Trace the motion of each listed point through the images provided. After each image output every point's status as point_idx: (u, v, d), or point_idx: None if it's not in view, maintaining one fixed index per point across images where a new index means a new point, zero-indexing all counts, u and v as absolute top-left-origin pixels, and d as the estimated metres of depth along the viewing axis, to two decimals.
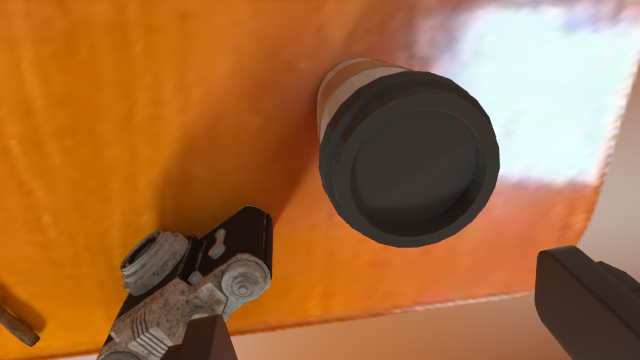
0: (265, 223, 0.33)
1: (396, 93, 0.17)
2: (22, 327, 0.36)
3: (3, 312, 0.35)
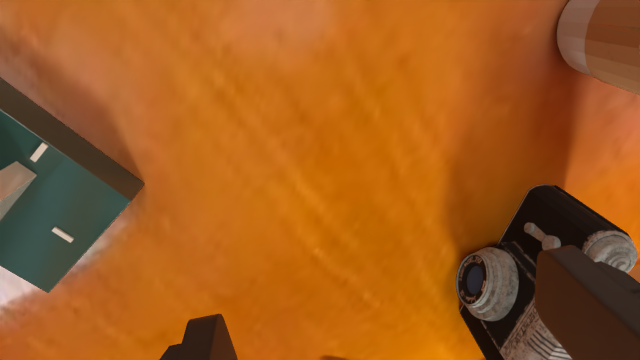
0: (565, 195, 0.31)
1: None
2: None
3: None
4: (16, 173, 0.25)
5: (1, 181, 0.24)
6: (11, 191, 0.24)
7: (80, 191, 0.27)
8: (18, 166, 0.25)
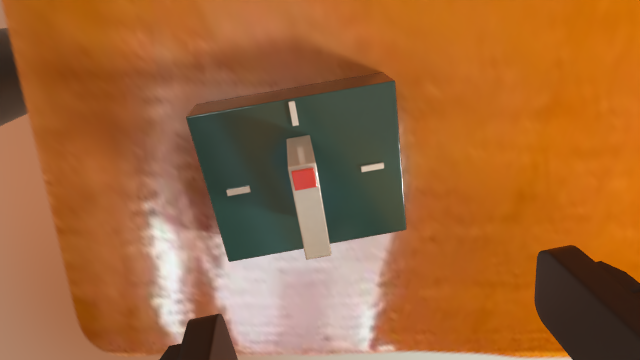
0: None
1: None
2: None
3: None
4: (297, 142, 0.23)
5: (297, 150, 0.22)
6: (311, 149, 0.22)
7: (351, 115, 0.24)
8: (292, 139, 0.24)
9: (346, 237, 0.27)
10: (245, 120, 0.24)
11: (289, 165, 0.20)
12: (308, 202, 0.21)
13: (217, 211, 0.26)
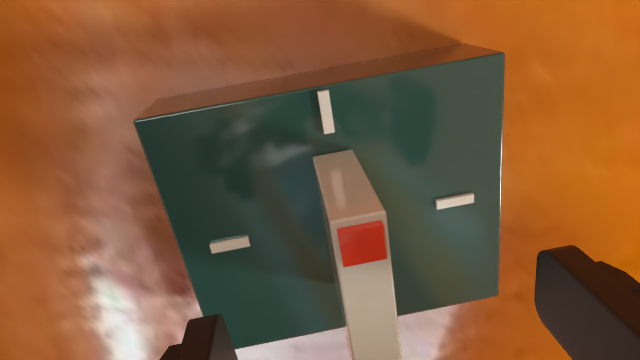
0: None
1: None
2: None
3: None
4: (335, 163, 0.13)
5: (339, 181, 0.12)
6: (366, 180, 0.12)
7: (424, 114, 0.14)
8: (323, 158, 0.14)
9: (405, 310, 0.17)
10: (241, 125, 0.13)
11: (331, 216, 0.10)
12: (368, 285, 0.11)
13: (195, 278, 0.15)
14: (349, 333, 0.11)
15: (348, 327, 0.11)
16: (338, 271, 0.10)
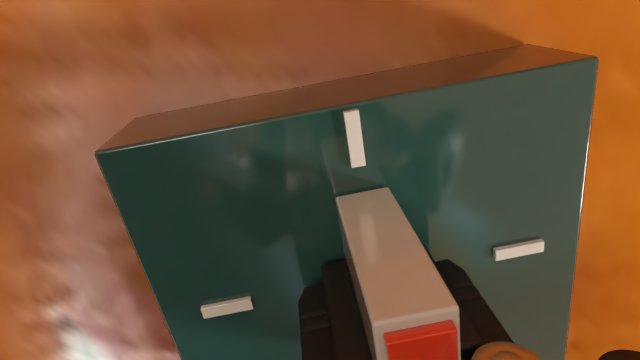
0: None
1: None
2: None
3: None
4: (368, 210, 0.09)
5: (377, 242, 0.08)
6: (416, 241, 0.08)
7: (486, 140, 0.10)
8: (350, 199, 0.10)
9: None
10: (240, 157, 0.10)
11: (374, 312, 0.07)
12: None
13: (184, 346, 0.12)
14: None
15: None
16: None
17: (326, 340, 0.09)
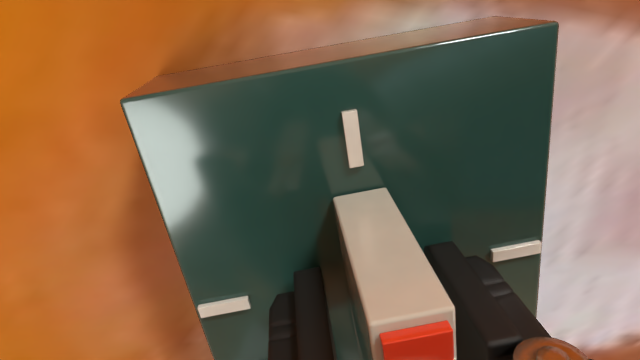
0: None
1: None
2: None
3: None
4: (365, 210, 0.09)
5: (374, 242, 0.08)
6: (413, 241, 0.08)
7: (219, 197, 0.10)
8: (348, 199, 0.10)
9: (537, 183, 0.11)
10: None
11: (370, 312, 0.07)
12: None
13: None
14: None
15: None
16: None
17: (293, 349, 0.09)
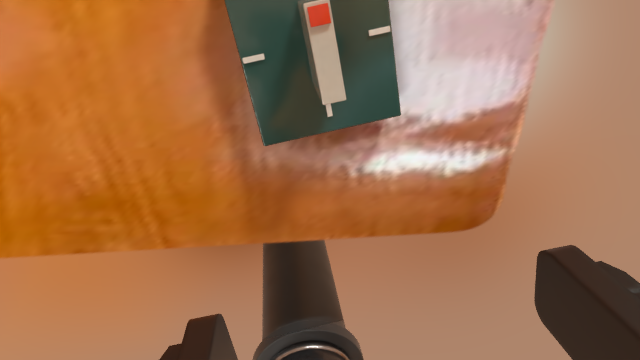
0: None
1: None
2: None
3: None
4: None
5: (309, 0, 0.23)
6: None
7: (251, 2, 0.25)
8: (303, 0, 0.25)
9: None
10: (263, 99, 0.28)
11: (304, 3, 0.22)
12: (324, 41, 0.22)
13: (348, 124, 0.29)
14: (317, 71, 0.23)
15: (316, 67, 0.23)
16: (309, 32, 0.22)
17: None
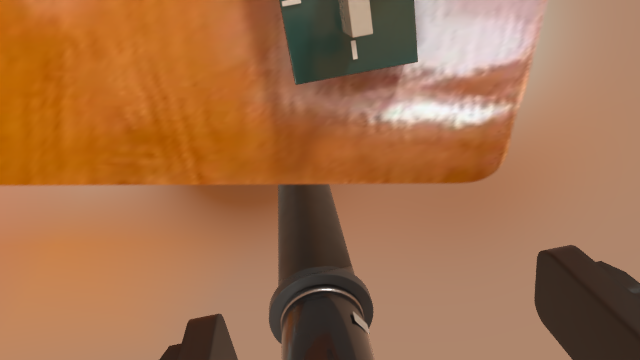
0: None
1: None
2: None
3: None
4: None
5: None
6: None
7: None
8: None
9: None
10: (297, 40, 0.32)
11: None
12: None
13: (371, 67, 0.33)
14: (349, 6, 0.27)
15: (348, 2, 0.27)
16: None
17: None
